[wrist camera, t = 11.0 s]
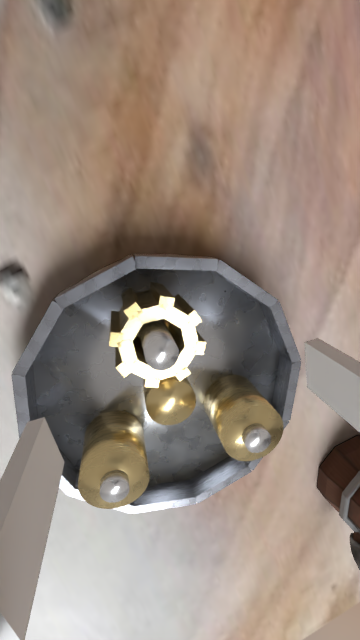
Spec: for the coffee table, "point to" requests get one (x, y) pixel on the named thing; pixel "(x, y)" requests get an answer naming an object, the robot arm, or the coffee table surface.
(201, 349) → the planet gear
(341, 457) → the mug
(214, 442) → the carrier
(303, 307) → the coffee table surface
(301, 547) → the coffee table surface
